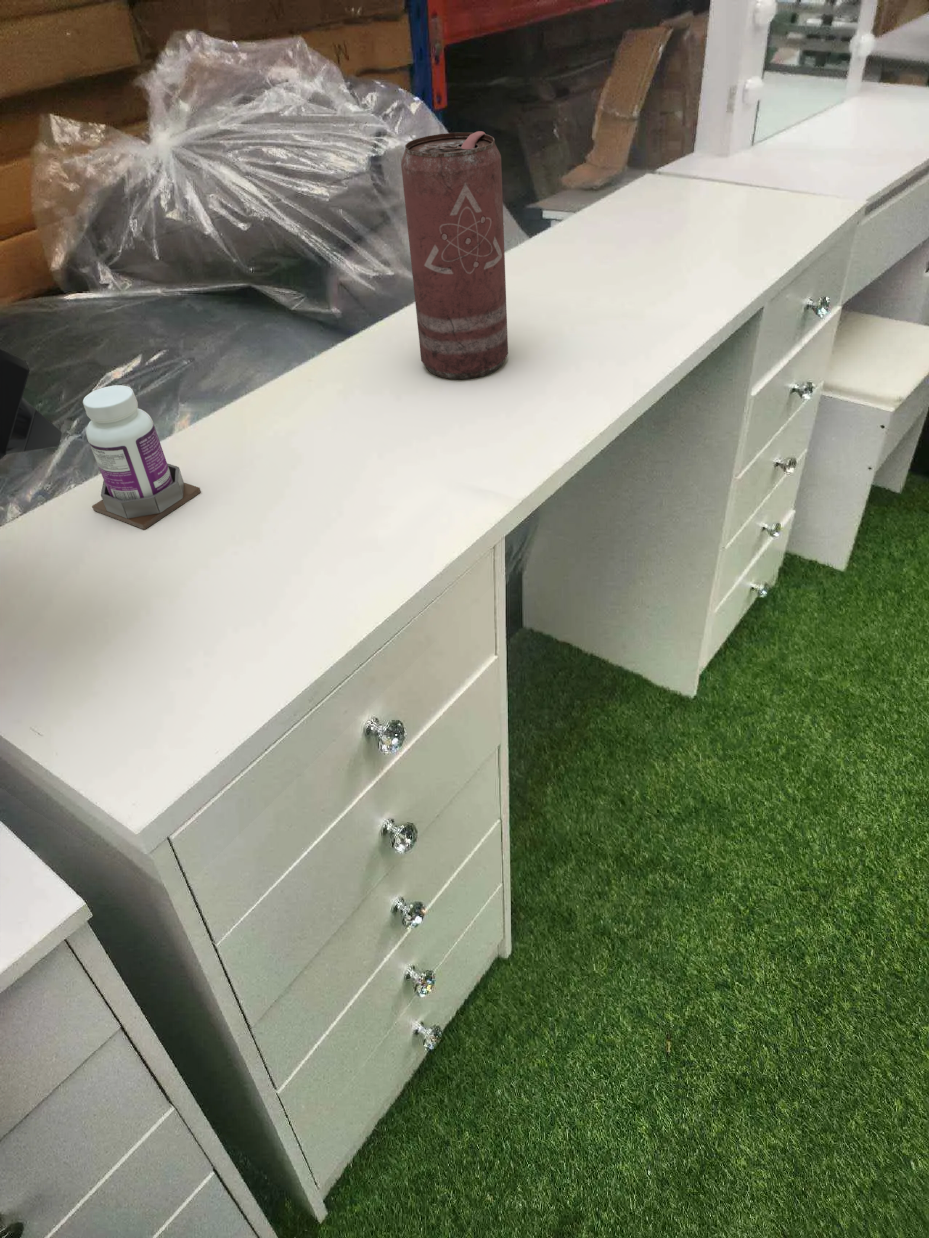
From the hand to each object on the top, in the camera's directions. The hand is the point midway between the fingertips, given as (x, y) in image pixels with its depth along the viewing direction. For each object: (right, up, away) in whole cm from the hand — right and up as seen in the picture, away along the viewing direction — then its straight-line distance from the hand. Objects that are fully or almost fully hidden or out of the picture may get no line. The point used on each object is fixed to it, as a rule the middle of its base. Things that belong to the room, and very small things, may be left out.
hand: (10, 428), depth 60 cm
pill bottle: (+3, -3, +16) cm, 16 cm away
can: (+32, +15, +34) cm, 49 cm away
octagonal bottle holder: (+4, -3, +16) cm, 17 cm away
